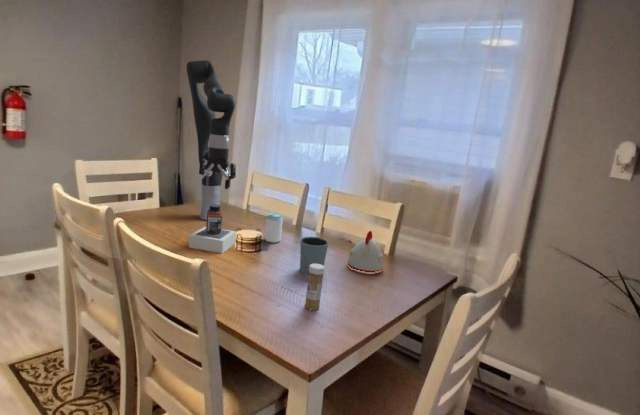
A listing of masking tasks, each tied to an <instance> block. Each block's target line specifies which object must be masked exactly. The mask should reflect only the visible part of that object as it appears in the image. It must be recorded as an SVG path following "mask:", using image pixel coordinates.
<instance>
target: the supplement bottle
mask: <svg viewBox="0 0 640 415" xmlns="http://www.w3.org/2000/svg"><path fill="white" fill-rule="evenodd" d="M222 221H223V211H222V210H221V204H220V205H216V204H212V205H210V209H209V210H208V211H207V220H206V226H205V227H206V232H207V233H209V234H219V233H221V229H222V223H223V222H222Z"/></svg>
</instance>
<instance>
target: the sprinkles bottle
mask: <svg viewBox="0 0 640 415" xmlns="http://www.w3.org/2000/svg"><path fill="white" fill-rule="evenodd" d="M325 268H326V267H325V265H324V266H323V265H321V264H311V265H310V266H309V276H308V281H307V286H306V295H305V302H304V303H305V304H304V307H305V309H307V310H309V309H311V310H310V311H317V310H319V309H318V308H320V302H321V297H322V294H321V293H322V288H323V278H324V274H325ZM316 309H317V310H316Z"/></svg>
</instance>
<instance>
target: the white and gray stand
mask: <svg viewBox="0 0 640 415" xmlns="http://www.w3.org/2000/svg"><path fill="white" fill-rule="evenodd" d="M235 235H236V236H237V231H235V230H234V231H233V230H228V229H222V228H221V233H219V234H209V233H207V232H206V226H203V227H202V228H200V229H198V230H195V232H192V233H191V234H189V235H188V237H189V238H188V248H191V249H196V250H203V251H208V252H212V253H220V254H223V253H225V252H226V251H227V250H228V249H230V248H231V247H233V244H234V245H235V244H236V243H235Z"/></svg>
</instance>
